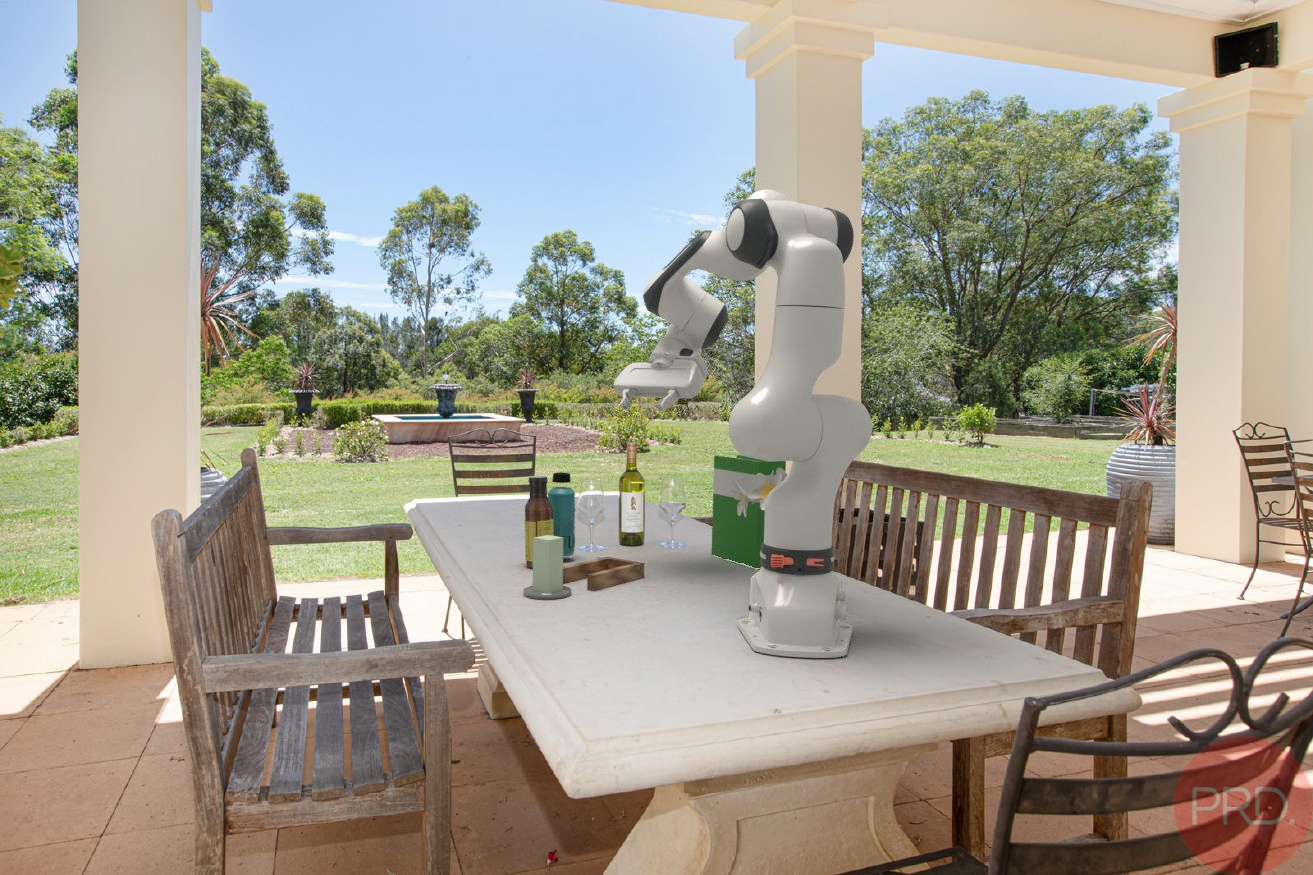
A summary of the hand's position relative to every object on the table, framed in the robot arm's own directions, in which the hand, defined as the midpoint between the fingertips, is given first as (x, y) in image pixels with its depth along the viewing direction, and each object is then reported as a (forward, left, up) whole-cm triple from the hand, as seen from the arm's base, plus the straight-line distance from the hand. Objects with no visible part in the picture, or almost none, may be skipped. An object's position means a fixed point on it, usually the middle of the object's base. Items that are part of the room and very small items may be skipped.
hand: (641, 408), depth 175 cm
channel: (-4, +8, -35) cm, 36 cm away
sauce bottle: (+7, +23, -36) cm, 43 cm away
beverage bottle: (+15, +20, -36) cm, 43 cm away
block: (-18, +15, -35) cm, 42 cm away
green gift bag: (+23, -22, -36) cm, 48 cm away
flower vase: (-14, -28, -36) cm, 48 cm away
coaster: (-17, +15, -35) cm, 42 cm away
